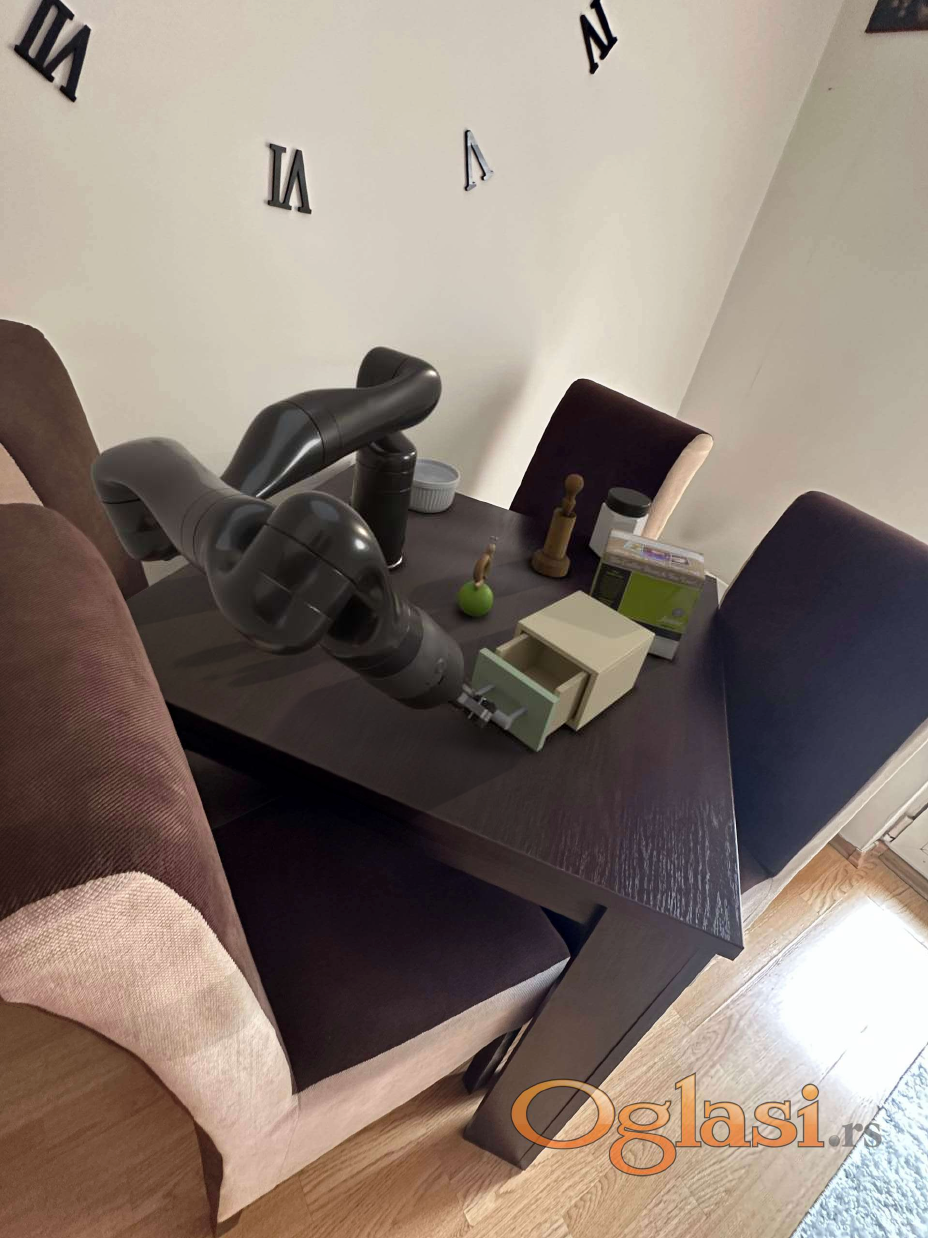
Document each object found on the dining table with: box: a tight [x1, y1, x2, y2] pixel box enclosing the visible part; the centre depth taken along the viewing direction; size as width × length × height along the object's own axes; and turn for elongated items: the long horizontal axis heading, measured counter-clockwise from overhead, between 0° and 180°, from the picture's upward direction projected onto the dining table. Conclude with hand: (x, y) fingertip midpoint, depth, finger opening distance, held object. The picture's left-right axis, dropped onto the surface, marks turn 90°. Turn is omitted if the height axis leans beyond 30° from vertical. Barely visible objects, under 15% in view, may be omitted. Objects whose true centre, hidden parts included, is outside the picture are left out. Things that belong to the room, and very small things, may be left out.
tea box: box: [588, 528, 707, 660], centre depth 101 cm, size 15×10×15 cm, turn 73°
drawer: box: [470, 632, 592, 753], centre depth 81 cm, size 18×11×8 cm, turn 138°
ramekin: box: [409, 456, 461, 514], centre depth 130 cm, size 13×13×7 cm
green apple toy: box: [457, 535, 499, 617], centre depth 98 cm, size 5×6×12 cm
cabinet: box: [513, 590, 655, 732], centre depth 88 cm, size 15×13×10 cm
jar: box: [588, 487, 652, 558], centre depth 126 cm, size 9×8×12 cm
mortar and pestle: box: [531, 473, 585, 578], centre depth 113 cm, size 7×6×18 cm
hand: (472, 705), depth 71 cm, fingers closed
